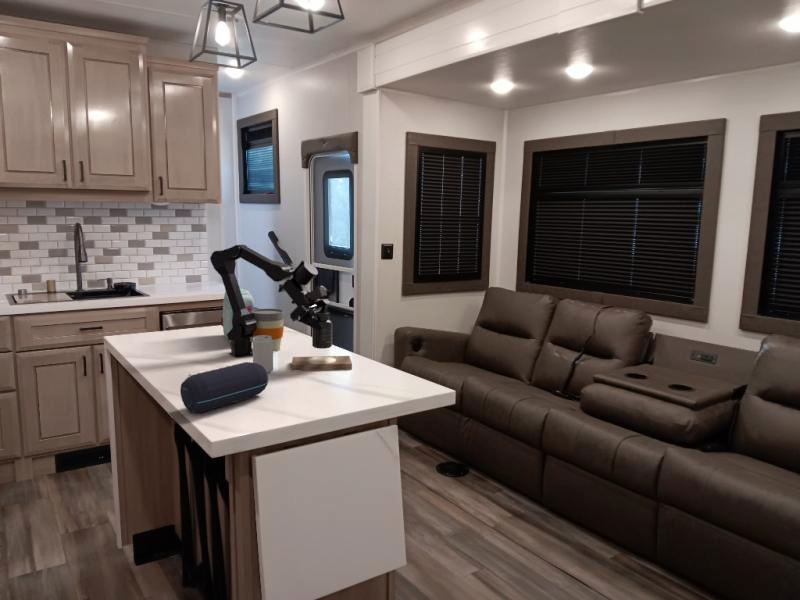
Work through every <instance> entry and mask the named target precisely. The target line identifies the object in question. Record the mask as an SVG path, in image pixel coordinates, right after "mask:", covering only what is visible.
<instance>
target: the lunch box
mask: <svg viewBox="0 0 800 600" xmlns="http://www.w3.org/2000/svg"><path fill="white" fill-rule="evenodd" d="M239 288H240V291H241V294H242V297H243V300H244V303H245V306H246V309H247V310H248V311H249V312H250V313H251V312H252V311H253V310H255V303H254V302H255V301H254V298H253V295H252V294H250V292H248V291H247V290H246V289H242V288H243V287H242V286H239ZM222 302H223V304H222V316H221V317H220V318H221V327H222V331H223V335H224V337H225V338H226V340H227V341H228V342H229V343H230V344H231V340H228V337H227V334H228V333H229V331H230V330H231V329H232V328H233V326H232V318H233V311H232V308H231V305H230V302H229V299H228V296H227V293H226V290H225V292H224V297H223V301H222ZM249 338H250V341H251V342H252V343H253V340H254V338H253V337H249Z"/></svg>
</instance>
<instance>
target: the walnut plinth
mask: <svg viewBox="0 0 800 600" xmlns="http://www.w3.org/2000/svg"><path fill="white" fill-rule="evenodd" d="M291 362H292V363H291V371H292V370H301V371H332V370H333V371H337V370H339V371H340V370H353V363H352V360H351V356H350V355H323V356H322V355H321V356H319V355H318V356H314V355H313V356H292V361H291Z"/></svg>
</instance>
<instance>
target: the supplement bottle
mask: <svg viewBox="0 0 800 600" xmlns="http://www.w3.org/2000/svg"><path fill="white" fill-rule="evenodd" d="M314 316H315V315H314ZM330 317H331V316H330V312H329V311H327V312H325V311H320V312H316V316H315V319H316V320H317V322H318V323H319V325H320V327H321V328H322V329H321V330H320V331H318V330H316V329H314V328H312V327H311V328H312V329H311V330H312V333H311V335H312V336H311V342H312V343H311V345H312V347H313V348H314V349H321V350H322V349H324V350H325V349H330V348H331V347H332V346H333V322H332V320H331V319H330ZM329 319H330V320H329Z"/></svg>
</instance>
